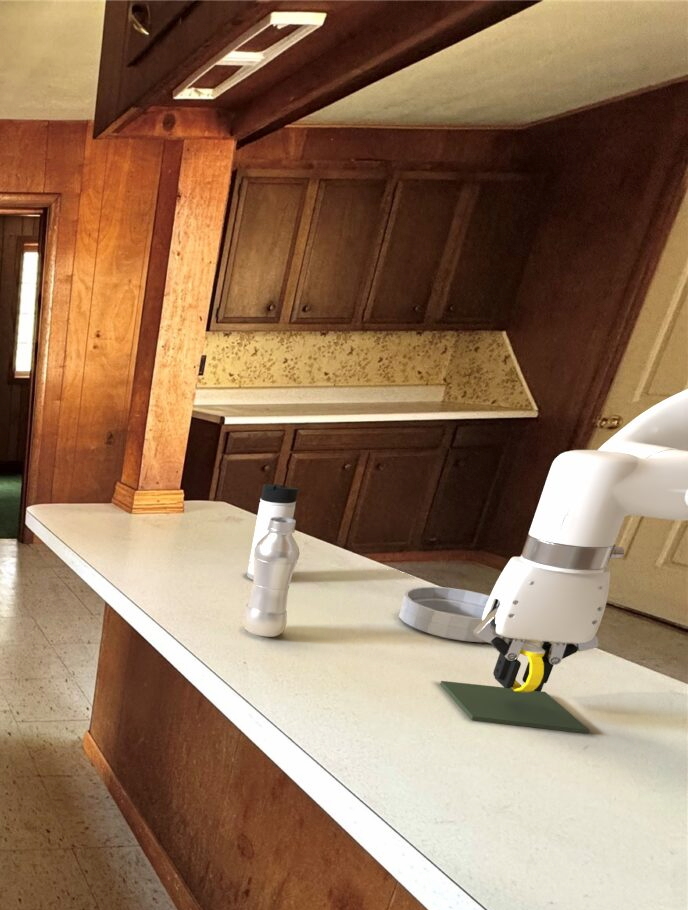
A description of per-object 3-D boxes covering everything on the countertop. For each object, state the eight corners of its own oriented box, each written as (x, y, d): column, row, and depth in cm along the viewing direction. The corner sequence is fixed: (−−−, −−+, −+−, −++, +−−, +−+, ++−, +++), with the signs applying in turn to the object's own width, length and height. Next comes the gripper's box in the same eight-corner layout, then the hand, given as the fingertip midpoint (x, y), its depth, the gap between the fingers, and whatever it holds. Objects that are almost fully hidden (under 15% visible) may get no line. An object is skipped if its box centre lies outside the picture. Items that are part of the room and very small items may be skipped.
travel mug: (238, 576, 139) (255, 482, 132) (260, 571, 142) (277, 478, 135) (265, 585, 134) (284, 488, 127) (287, 579, 137) (306, 484, 129)
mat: (543, 695, 92) (545, 691, 91) (587, 733, 83) (589, 729, 83) (439, 684, 95) (441, 680, 95) (471, 719, 87) (472, 716, 86)
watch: (490, 675, 91) (504, 636, 89) (514, 678, 90) (529, 638, 88) (515, 697, 86) (531, 656, 84) (540, 699, 85) (557, 658, 83)
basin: (484, 614, 118) (492, 590, 116) (529, 649, 104) (539, 623, 103) (385, 606, 122) (391, 583, 121) (416, 639, 109) (424, 614, 107)
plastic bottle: (261, 643, 109) (283, 527, 102) (231, 628, 116) (250, 517, 108) (292, 638, 111) (317, 522, 104) (261, 623, 117) (282, 513, 110)
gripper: (628, 549, 82) (576, 679, 89) (471, 540, 87) (433, 665, 94) (672, 568, 75) (612, 707, 82) (499, 558, 80) (456, 690, 87)
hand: (517, 683), depth 88 cm, fingers closed on watch, 2 cm apart
